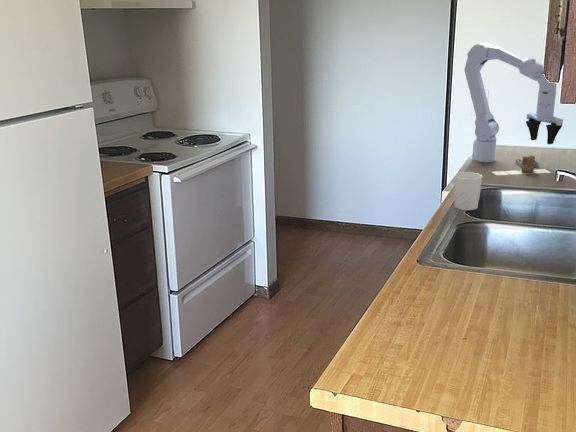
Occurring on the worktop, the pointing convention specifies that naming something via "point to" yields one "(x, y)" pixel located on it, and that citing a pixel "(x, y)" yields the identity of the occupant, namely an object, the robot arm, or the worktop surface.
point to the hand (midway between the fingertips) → (541, 142)
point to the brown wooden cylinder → (528, 164)
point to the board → (519, 172)
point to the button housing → (518, 162)
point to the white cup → (467, 190)
